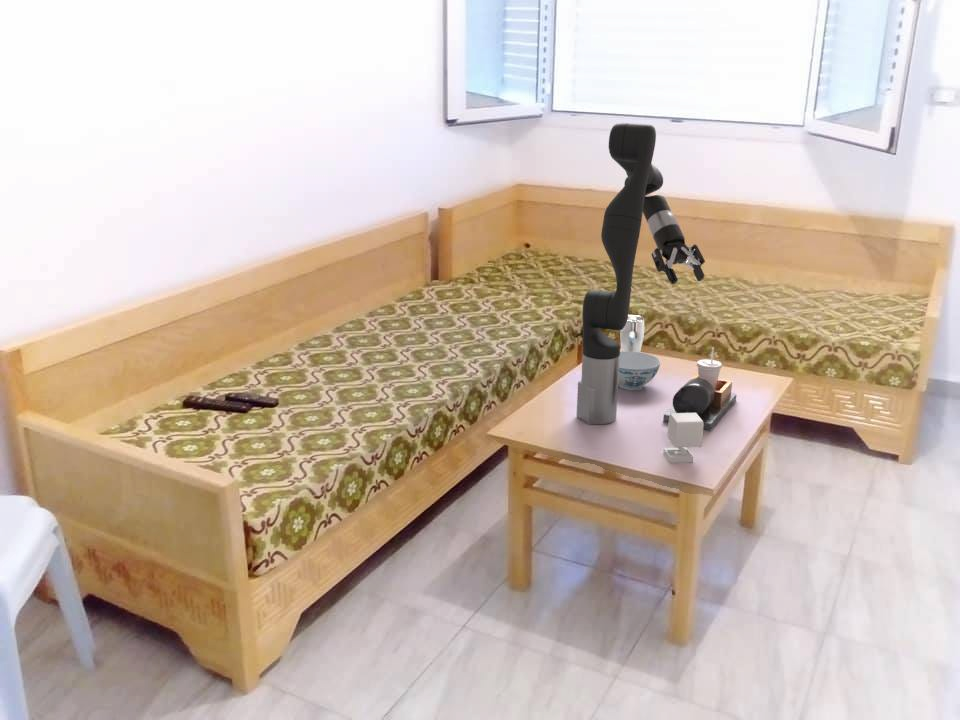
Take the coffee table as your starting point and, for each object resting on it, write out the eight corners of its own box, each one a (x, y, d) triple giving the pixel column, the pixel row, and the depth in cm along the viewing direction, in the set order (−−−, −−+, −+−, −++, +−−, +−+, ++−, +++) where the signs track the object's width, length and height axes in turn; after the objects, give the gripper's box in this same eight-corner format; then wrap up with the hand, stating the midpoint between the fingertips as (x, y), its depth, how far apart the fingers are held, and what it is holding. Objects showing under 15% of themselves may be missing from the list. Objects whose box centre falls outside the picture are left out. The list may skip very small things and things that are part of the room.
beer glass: (636, 371, 263) (639, 322, 258) (614, 367, 267) (617, 318, 262) (645, 365, 269) (648, 316, 264) (623, 361, 272) (626, 313, 267)
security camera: (700, 462, 205) (704, 422, 202) (670, 463, 205) (673, 423, 201) (692, 451, 211) (695, 411, 208) (662, 451, 211) (665, 412, 207)
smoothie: (712, 403, 234) (717, 352, 230) (689, 398, 238) (694, 347, 233) (722, 396, 239) (727, 346, 234) (699, 391, 243) (704, 341, 238)
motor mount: (710, 431, 222) (713, 393, 219) (663, 421, 228) (666, 384, 224) (735, 400, 242) (739, 365, 239) (692, 392, 247) (695, 358, 244)
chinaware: (598, 391, 248) (599, 364, 246) (612, 374, 261) (613, 348, 259) (652, 398, 243) (654, 372, 240) (663, 381, 256) (665, 355, 253)
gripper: (650, 224, 240) (673, 276, 234) (693, 221, 246) (717, 271, 240) (637, 241, 247) (659, 291, 240) (680, 236, 252) (702, 286, 246)
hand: (688, 281), depth 240 cm, fingers open, 8 cm apart
